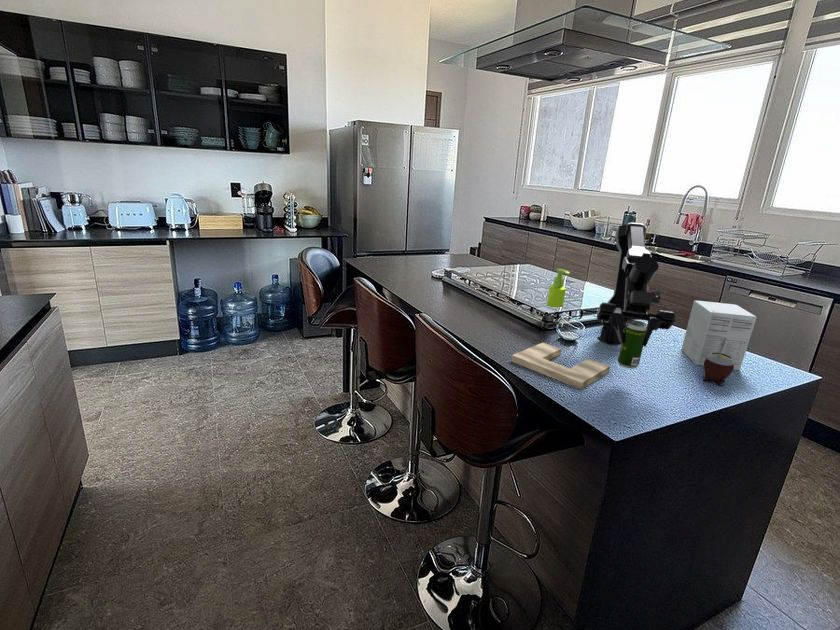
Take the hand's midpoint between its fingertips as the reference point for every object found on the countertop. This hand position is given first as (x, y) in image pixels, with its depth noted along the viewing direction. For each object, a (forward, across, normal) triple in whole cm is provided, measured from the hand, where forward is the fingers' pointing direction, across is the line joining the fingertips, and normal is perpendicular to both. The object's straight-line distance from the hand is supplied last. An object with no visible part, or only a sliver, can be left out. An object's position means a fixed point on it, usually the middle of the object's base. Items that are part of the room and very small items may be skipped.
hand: (633, 344), depth 121 cm
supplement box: (-14, +30, +32) cm, 45 cm away
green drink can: (+4, 0, +6) cm, 7 cm away
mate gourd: (0, +26, +18) cm, 32 cm away
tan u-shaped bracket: (+5, -17, +12) cm, 22 cm away
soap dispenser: (-25, -19, +44) cm, 54 cm away
